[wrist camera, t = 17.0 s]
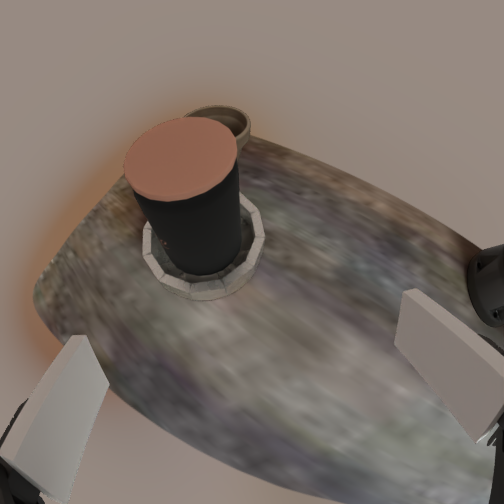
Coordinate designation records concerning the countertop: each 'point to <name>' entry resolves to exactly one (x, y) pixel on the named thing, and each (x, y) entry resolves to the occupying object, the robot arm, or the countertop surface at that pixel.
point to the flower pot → (227, 121)
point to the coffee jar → (189, 191)
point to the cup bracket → (220, 281)
